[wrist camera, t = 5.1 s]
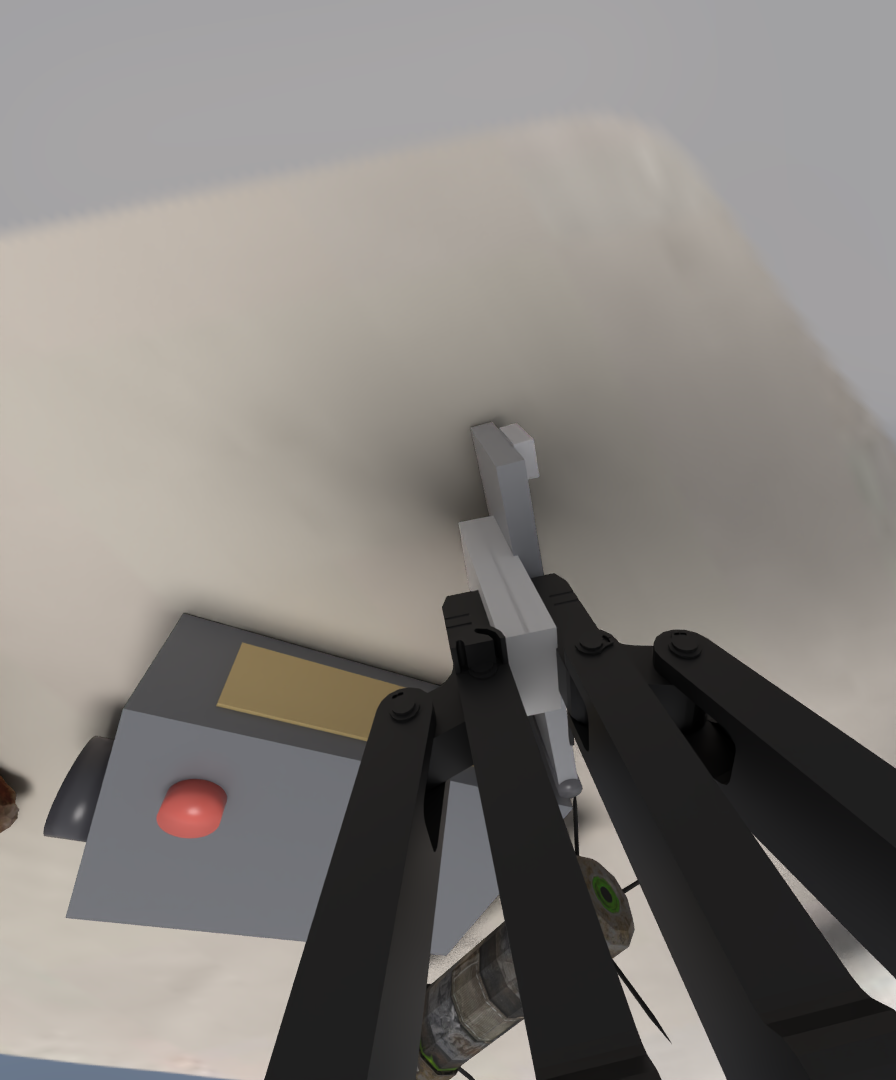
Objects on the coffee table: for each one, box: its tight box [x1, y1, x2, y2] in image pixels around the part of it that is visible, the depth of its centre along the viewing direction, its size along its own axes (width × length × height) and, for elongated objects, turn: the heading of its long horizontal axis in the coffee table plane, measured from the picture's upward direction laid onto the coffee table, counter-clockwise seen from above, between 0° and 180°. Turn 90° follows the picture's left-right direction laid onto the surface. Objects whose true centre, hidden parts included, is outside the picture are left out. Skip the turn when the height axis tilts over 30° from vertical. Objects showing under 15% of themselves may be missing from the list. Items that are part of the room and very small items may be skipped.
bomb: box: [416, 796, 672, 1080], centre depth 28 cm, size 11×10×30 cm
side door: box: [470, 422, 582, 798], centre depth 18 cm, size 15×2×5 cm, turn 13°
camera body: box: [44, 613, 573, 956], centre depth 21 cm, size 19×12×6 cm, turn 64°
